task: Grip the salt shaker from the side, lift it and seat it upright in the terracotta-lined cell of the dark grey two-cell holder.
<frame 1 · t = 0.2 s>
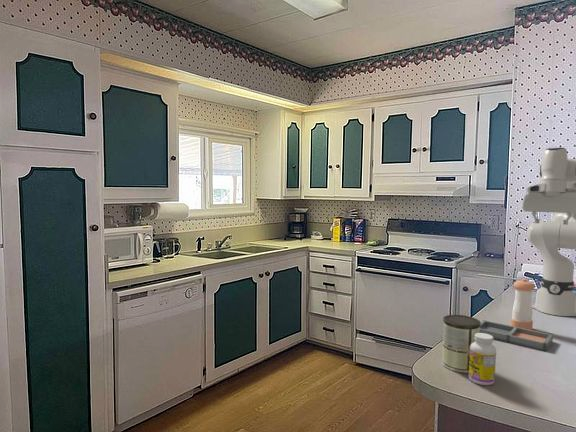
hand: (551, 224, 166), 40 cm above the countertop, tool pointing down, fingers open, 8 cm apart
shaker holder: (512, 337, 153), on the countertop
salt shaker: (521, 328, 164), on the countertop
supplement bottle: (481, 381, 119), on the countertop
coffee can: (459, 366, 129), on the countertop
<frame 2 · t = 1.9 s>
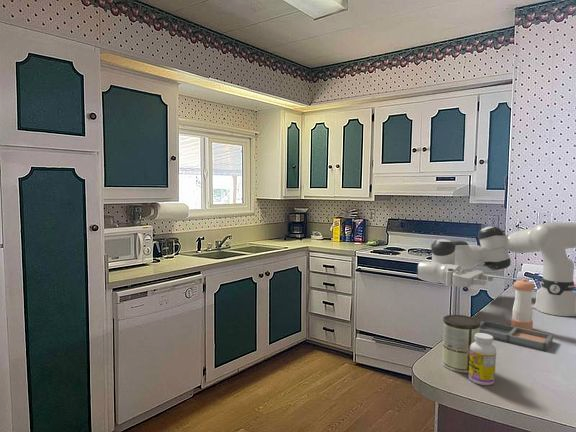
hand: (489, 280, 170), 16 cm above the countertop, tool horizontal, fingers open, 8 cm apart
nothing on the countertop moved.
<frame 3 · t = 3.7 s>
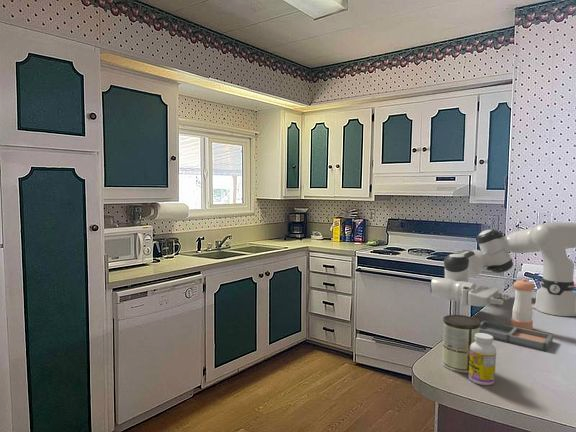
hand: (506, 299, 166), 10 cm above the countertop, tool horizontal, fingers open, 8 cm apart
nothing on the countertop moved.
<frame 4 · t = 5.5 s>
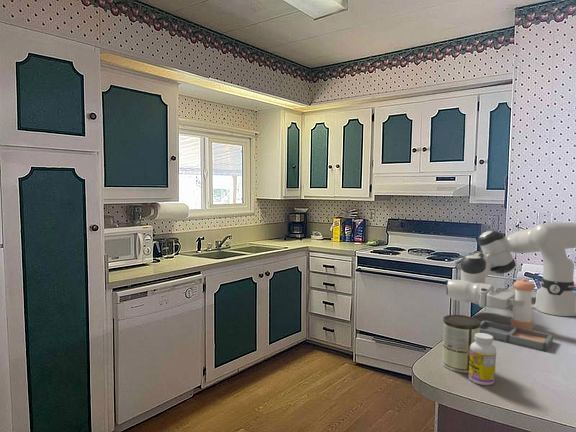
hand: (525, 301, 162), 11 cm above the countertop, tool horizontal, fingers closed on salt shaker, 5 cm apart
salt shaker: (521, 328, 164), on the countertop, touching gripper
everything else where it was.
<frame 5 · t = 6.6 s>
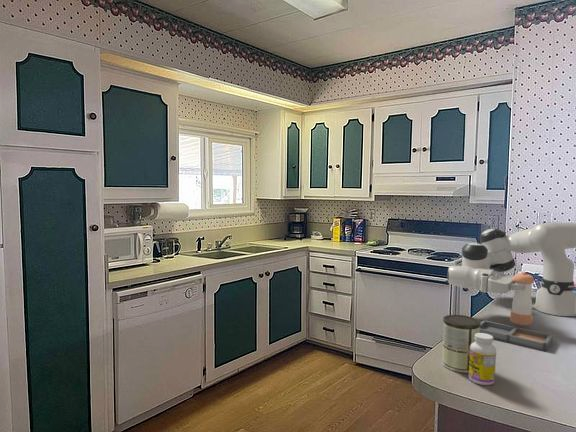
hand: (527, 286, 162), 16 cm above the countertop, tool horizontal, fingers closed on salt shaker, 5 cm apart
salt shaker: (521, 322, 164), point 2 cm above the countertop, touching gripper
everything else where it was.
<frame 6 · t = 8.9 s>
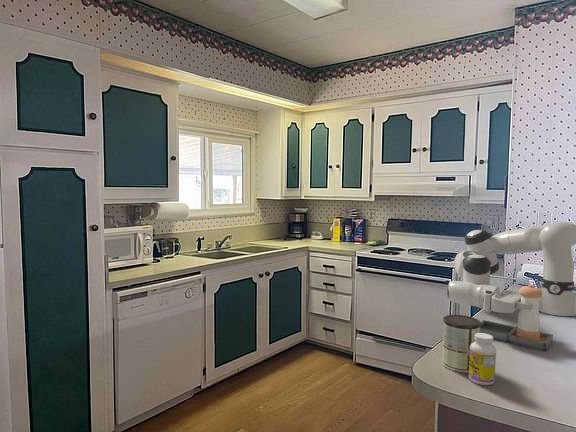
hand: (534, 305, 148), 13 cm above the countertop, tool horizontal, fingers closed on salt shaker, 5 cm apart
salt shaker: (527, 339, 150), point 1 cm above the countertop, touching gripper, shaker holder
everything else where it was.
when the fingers open (13 cm above the countertop, at t = 9.4 s): salt shaker stays where it is, resting on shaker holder.
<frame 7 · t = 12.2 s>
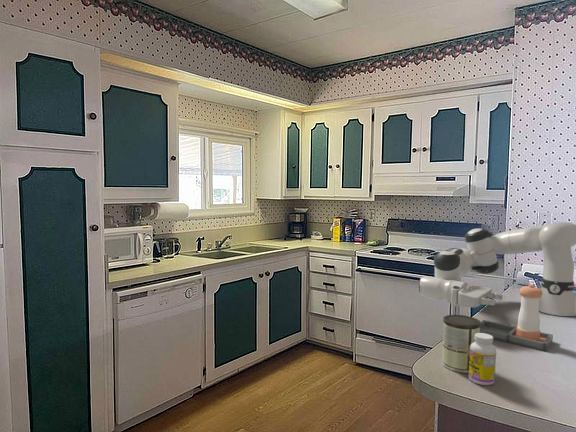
hand: (498, 300, 155), 13 cm above the countertop, tool horizontal, fingers open, 8 cm apart
salt shaker: (527, 339, 150), point 1 cm above the countertop, touching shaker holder
everything else where it was.
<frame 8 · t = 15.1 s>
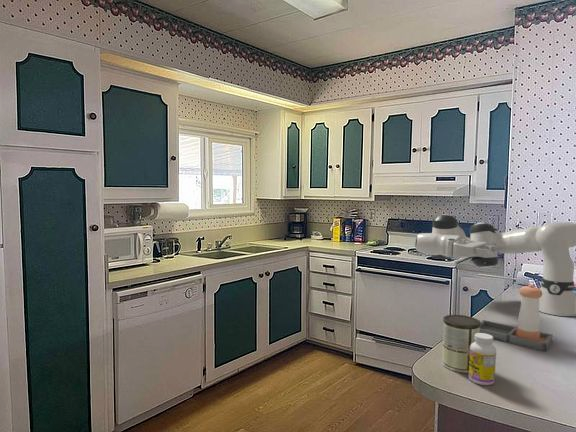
hand: (492, 250, 159), 30 cm above the countertop, tool horizontal, fingers open, 8 cm apart
nothing on the countertop moved.
at the end: salt shaker 0.6 cm from the target spot on the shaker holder, point 0.8 cm above the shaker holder's base; salt shaker tilted 0°; the gripper is holding nothing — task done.
